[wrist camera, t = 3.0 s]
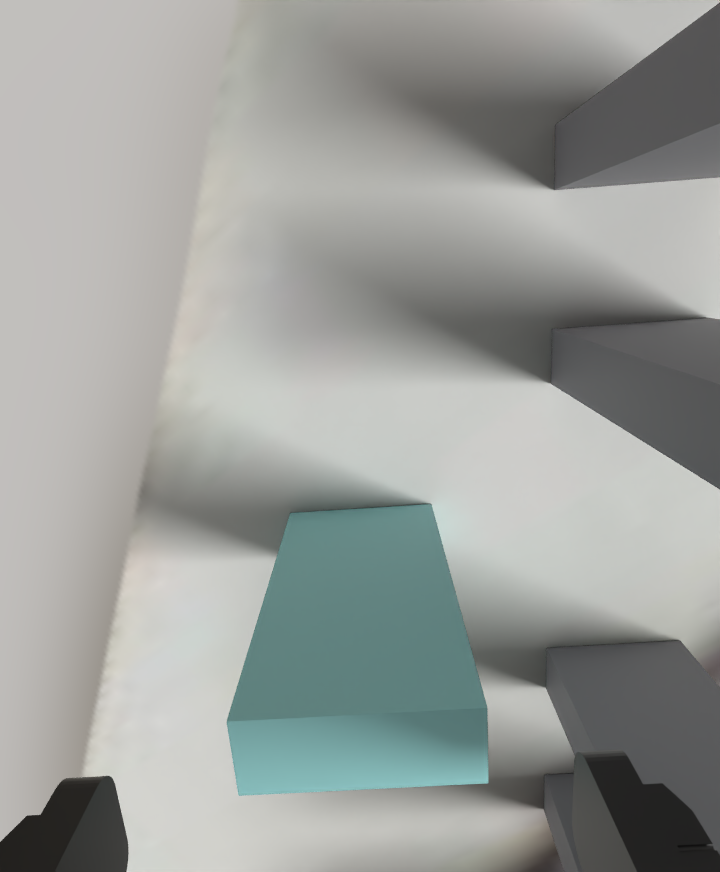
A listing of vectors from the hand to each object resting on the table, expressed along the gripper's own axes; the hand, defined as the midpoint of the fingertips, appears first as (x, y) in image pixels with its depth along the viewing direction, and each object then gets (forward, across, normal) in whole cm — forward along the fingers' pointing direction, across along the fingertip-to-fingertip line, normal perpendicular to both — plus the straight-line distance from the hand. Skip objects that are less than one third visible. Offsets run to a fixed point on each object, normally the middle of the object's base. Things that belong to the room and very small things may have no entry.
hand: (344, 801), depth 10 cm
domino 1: (+11, 0, 0) cm, 11 cm away
